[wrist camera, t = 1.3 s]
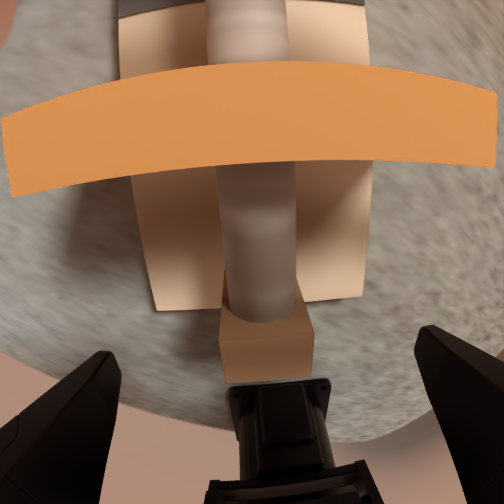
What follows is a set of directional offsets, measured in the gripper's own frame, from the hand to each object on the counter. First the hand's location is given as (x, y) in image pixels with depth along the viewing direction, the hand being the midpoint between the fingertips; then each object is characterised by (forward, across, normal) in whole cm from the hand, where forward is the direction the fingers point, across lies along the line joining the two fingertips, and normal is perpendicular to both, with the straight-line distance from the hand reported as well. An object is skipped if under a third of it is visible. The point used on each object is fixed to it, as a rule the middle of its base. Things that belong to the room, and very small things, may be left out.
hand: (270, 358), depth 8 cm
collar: (+6, 0, -6) cm, 8 cm away
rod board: (+7, 0, -8) cm, 11 cm away
